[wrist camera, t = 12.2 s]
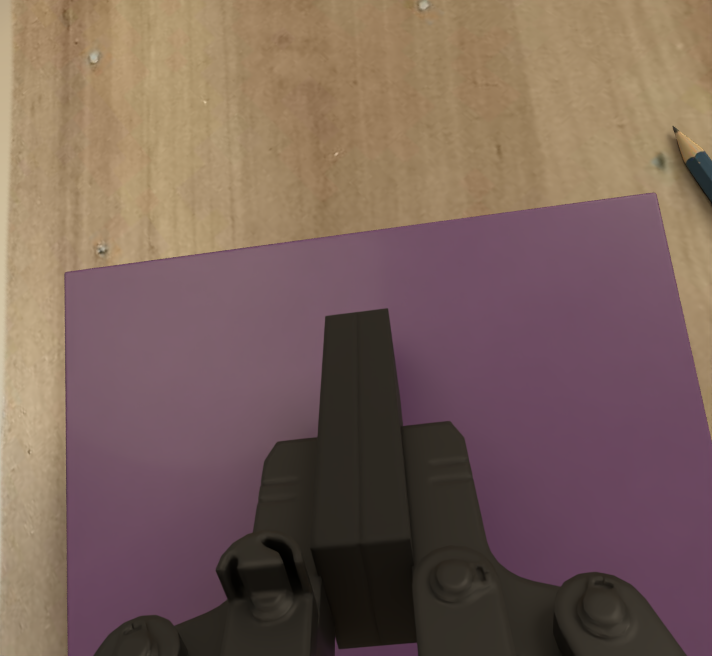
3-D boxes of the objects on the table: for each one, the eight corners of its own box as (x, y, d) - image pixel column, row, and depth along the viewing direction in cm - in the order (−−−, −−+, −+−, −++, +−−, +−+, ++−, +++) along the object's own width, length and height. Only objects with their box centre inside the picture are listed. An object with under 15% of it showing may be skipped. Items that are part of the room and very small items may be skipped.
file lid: (79, 279, 19) (63, 270, 18) (645, 204, 18) (657, 190, 17) (87, 873, 16) (68, 897, 15) (781, 827, 15) (805, 851, 14)
